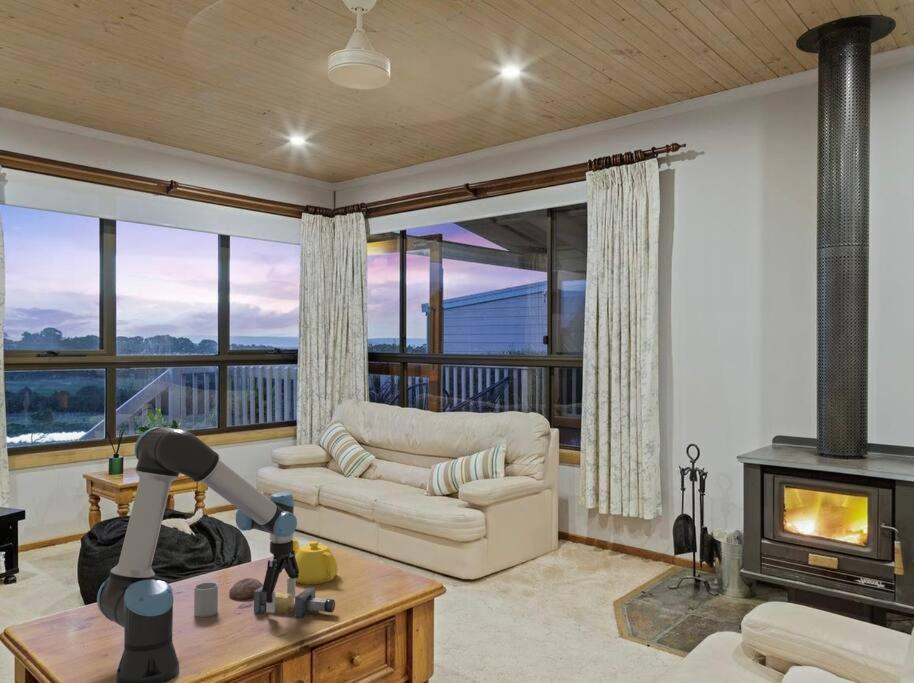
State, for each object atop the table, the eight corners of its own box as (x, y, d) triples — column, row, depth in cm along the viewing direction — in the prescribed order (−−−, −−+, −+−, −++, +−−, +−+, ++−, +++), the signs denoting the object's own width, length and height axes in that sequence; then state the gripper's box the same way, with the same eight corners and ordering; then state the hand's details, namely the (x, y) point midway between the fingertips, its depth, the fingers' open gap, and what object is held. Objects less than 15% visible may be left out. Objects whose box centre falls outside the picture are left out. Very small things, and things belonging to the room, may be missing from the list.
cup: (197, 619, 220) (197, 591, 220) (189, 609, 228) (189, 582, 228) (220, 614, 224) (220, 586, 225) (211, 605, 232) (211, 578, 233)
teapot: (272, 577, 262) (272, 540, 263) (309, 565, 276) (309, 531, 276) (314, 591, 247) (314, 552, 247) (351, 578, 260) (351, 542, 261)
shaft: (335, 610, 225) (335, 597, 225) (329, 614, 221) (330, 602, 221) (302, 606, 228) (302, 594, 228) (296, 611, 224) (296, 598, 225)
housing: (315, 607, 230) (315, 586, 230) (302, 618, 221) (302, 596, 221) (268, 602, 235) (268, 582, 235) (253, 612, 225) (253, 591, 226)
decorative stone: (222, 599, 238) (222, 583, 239) (240, 588, 250) (240, 573, 250) (254, 602, 236) (254, 586, 236) (270, 590, 248) (270, 575, 248)
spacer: (287, 613, 225) (287, 598, 226) (271, 611, 227) (271, 596, 227) (293, 609, 229) (293, 593, 229) (277, 607, 231) (277, 592, 231)
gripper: (272, 551, 215) (272, 619, 215) (309, 531, 240) (309, 593, 239) (251, 549, 217) (250, 617, 217) (289, 530, 242) (289, 591, 241)
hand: (281, 604), depth 228 cm, fingers open, 13 cm apart
